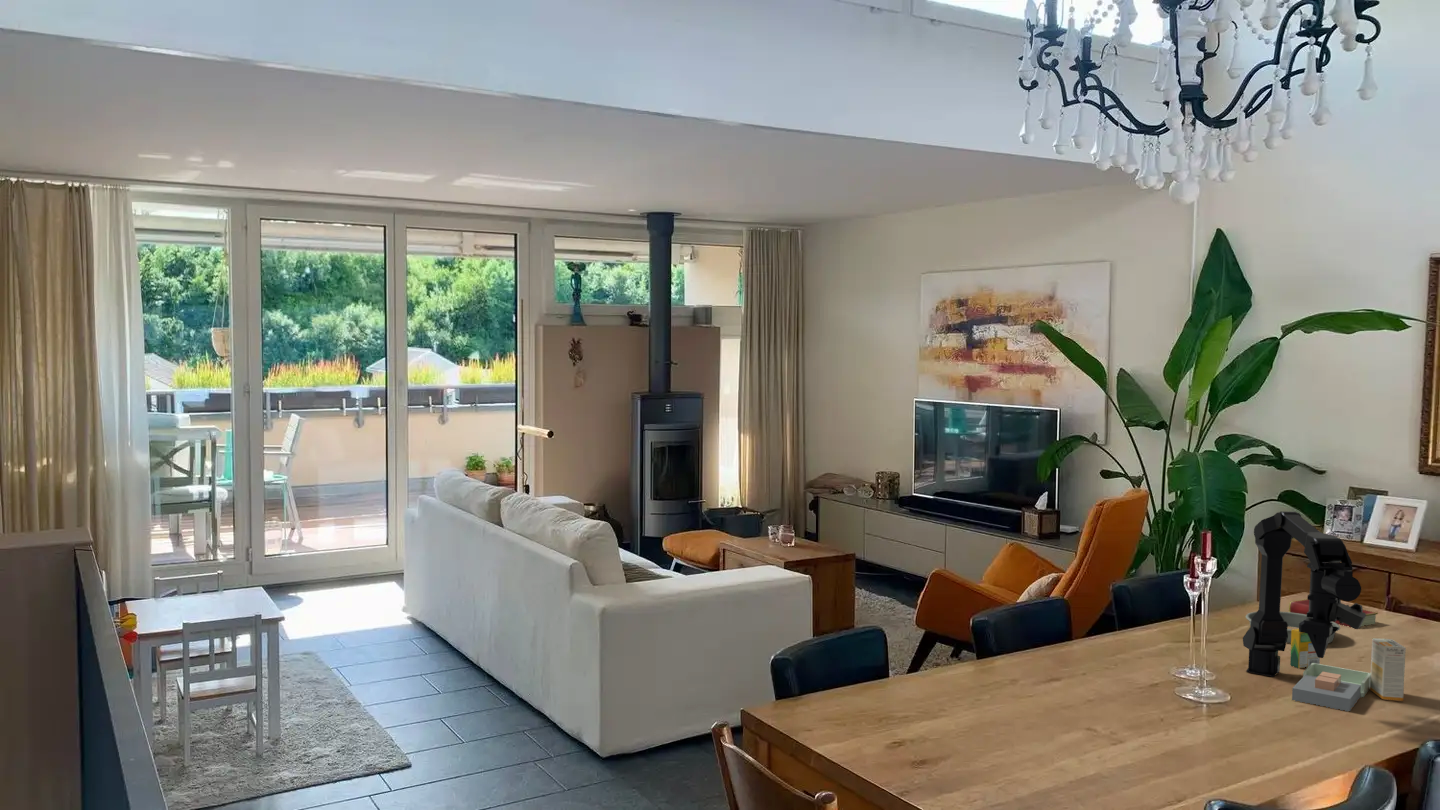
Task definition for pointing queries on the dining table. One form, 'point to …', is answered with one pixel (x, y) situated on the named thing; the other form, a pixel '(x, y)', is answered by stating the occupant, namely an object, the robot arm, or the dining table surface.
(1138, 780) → the dining table surface
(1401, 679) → the supplement box
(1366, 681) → the box
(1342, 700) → the grey base plate
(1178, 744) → the dining table surface
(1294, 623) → the cake pan
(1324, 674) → the tile
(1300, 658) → the crayon box
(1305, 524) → the robot arm
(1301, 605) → the hardcover book
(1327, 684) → the tile
